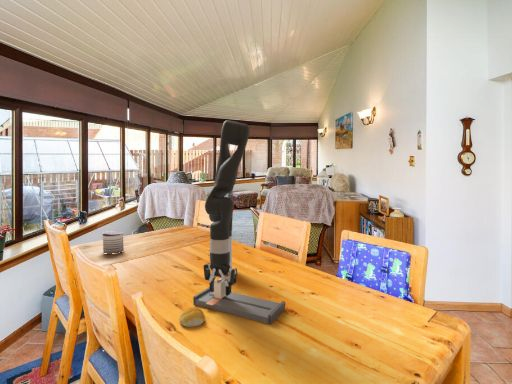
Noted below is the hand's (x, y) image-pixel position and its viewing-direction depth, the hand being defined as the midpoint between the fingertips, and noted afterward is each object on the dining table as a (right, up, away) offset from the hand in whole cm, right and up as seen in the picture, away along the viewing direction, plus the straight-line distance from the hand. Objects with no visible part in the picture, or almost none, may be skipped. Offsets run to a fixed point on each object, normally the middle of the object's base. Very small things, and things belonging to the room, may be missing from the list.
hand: (220, 293), depth 122 cm
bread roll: (-8, -5, -14) cm, 17 cm away
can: (-69, +3, +66) cm, 96 cm away
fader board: (+7, -4, -3) cm, 9 cm away
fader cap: (0, -1, 0) cm, 1 cm away
